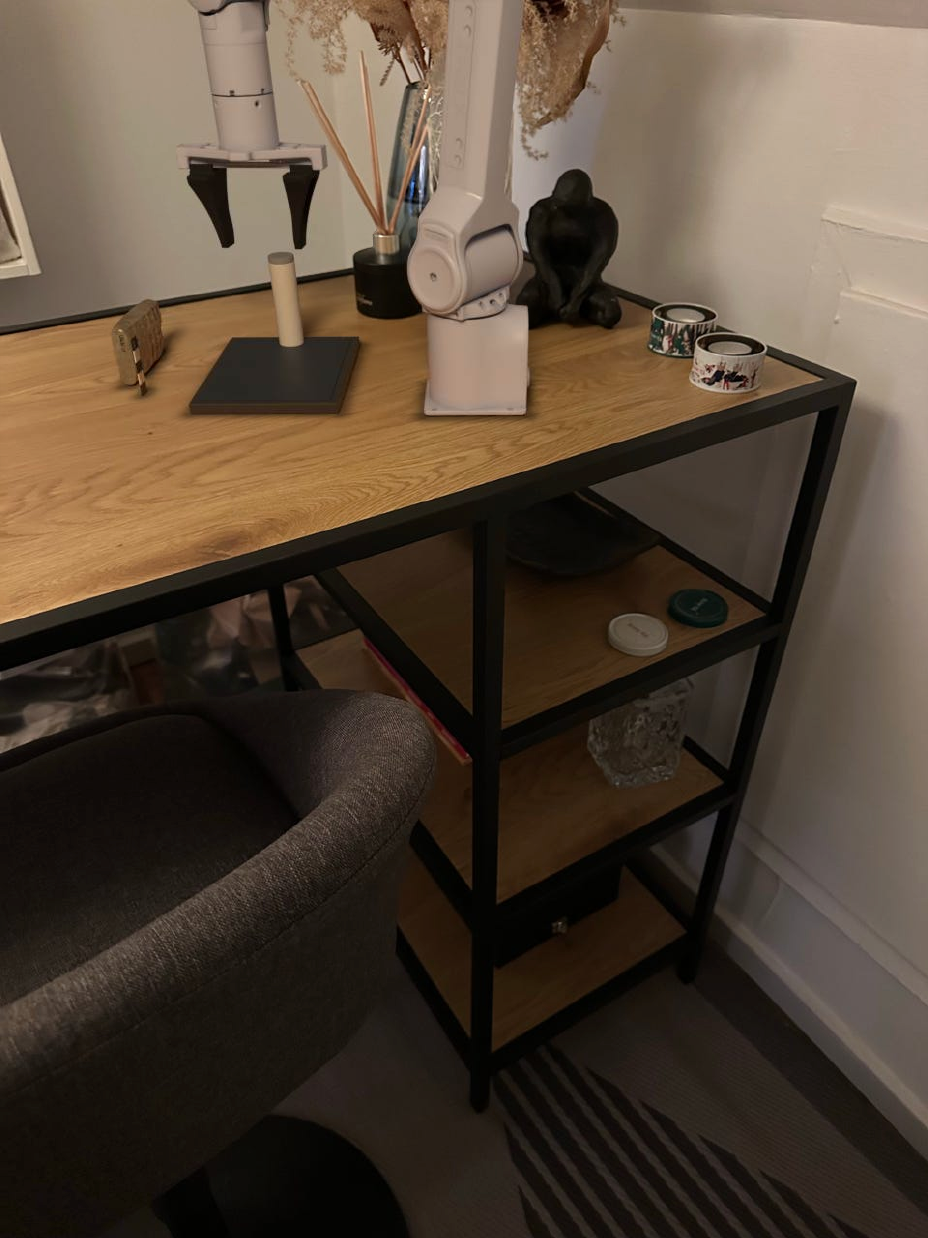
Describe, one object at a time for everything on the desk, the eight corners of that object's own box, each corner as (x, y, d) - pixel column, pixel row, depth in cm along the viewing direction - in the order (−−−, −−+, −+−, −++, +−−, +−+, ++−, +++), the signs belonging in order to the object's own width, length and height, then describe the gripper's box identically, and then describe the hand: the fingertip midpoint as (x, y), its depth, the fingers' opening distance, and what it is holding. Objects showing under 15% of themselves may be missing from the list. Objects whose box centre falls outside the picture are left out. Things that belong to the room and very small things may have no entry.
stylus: (306, 338, 94) (296, 251, 89) (300, 347, 92) (289, 258, 87) (283, 338, 95) (271, 251, 89) (277, 346, 92) (264, 258, 87)
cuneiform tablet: (131, 338, 82) (172, 298, 91) (91, 336, 82) (136, 296, 91) (143, 396, 85) (181, 352, 95) (105, 394, 85) (146, 351, 95)
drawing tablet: (359, 345, 96) (359, 335, 95) (339, 413, 81) (337, 402, 81) (233, 345, 96) (231, 336, 95) (190, 414, 82) (188, 403, 81)
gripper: (151, 98, 79) (182, 255, 87) (307, 98, 77) (324, 258, 86) (179, 88, 84) (206, 237, 93) (325, 88, 83) (339, 239, 91)
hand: (264, 246), depth 90 cm, fingers open, 7 cm apart
